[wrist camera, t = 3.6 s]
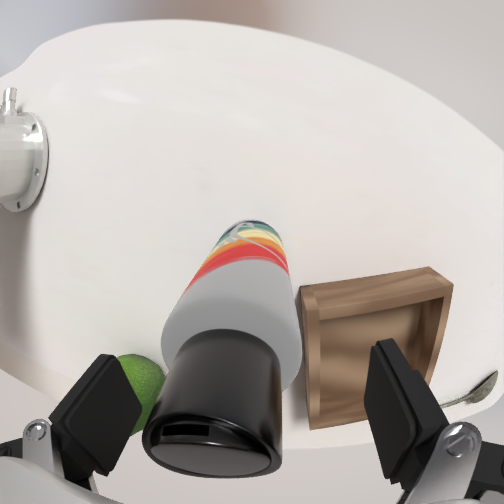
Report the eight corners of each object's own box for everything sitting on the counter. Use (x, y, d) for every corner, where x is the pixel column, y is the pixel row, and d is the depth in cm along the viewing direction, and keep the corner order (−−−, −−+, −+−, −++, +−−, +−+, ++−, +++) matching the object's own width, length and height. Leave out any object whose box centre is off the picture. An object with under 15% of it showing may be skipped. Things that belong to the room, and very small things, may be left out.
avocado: (108, 338, 28) (57, 402, 17) (164, 341, 28) (121, 420, 16) (129, 385, 31) (93, 450, 19) (181, 391, 30) (154, 467, 19)
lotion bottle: (273, 210, 23) (300, 388, 4) (290, 271, 25) (329, 493, 5) (211, 228, 24) (64, 399, 5) (230, 286, 25) (167, 497, 6)
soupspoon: (485, 389, 31) (498, 362, 29) (493, 399, 28) (508, 371, 26) (396, 422, 31) (409, 394, 30) (404, 437, 28) (418, 409, 27)
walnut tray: (300, 286, 25) (306, 311, 20) (428, 266, 24) (453, 284, 19) (306, 401, 29) (309, 430, 25) (408, 379, 28) (421, 403, 24)
